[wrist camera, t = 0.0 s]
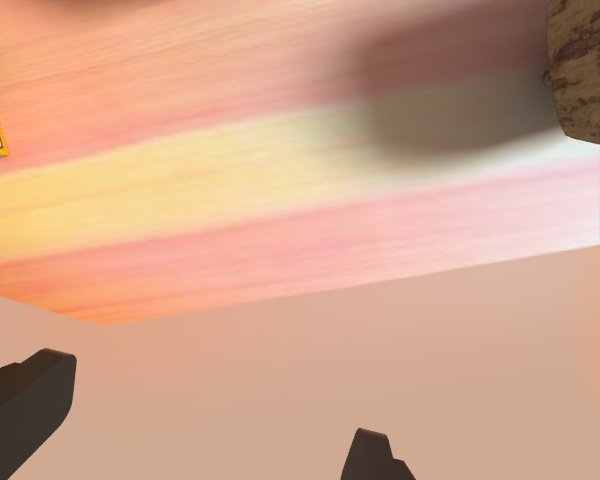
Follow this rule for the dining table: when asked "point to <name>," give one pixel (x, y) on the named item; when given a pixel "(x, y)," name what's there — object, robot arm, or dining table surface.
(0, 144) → the candy box
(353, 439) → the robot arm
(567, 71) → the tabletop clock
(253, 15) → the dining table surface
